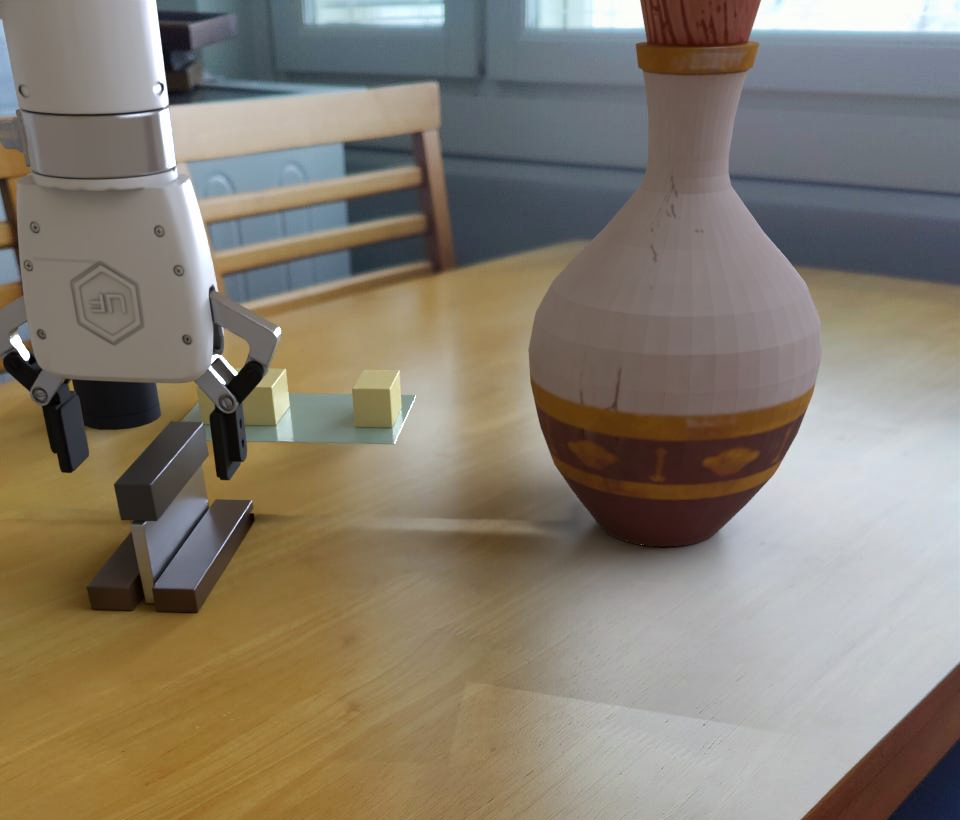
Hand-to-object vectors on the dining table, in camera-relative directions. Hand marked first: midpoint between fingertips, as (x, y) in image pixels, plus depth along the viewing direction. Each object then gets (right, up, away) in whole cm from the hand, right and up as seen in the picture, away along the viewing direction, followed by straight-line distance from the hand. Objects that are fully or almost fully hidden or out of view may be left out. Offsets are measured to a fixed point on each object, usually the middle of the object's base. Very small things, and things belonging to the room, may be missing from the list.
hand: (152, 468), depth 74 cm
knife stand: (+1, -5, +4) cm, 6 cm away
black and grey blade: (+1, -5, +4) cm, 6 cm away
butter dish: (+5, +11, +24) cm, 27 cm away
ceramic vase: (+32, -1, +8) cm, 34 cm away
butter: (+1, +12, +24) cm, 27 cm away
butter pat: (+12, +11, +23) cm, 28 cm away
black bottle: (-9, +11, +25) cm, 29 cm away
